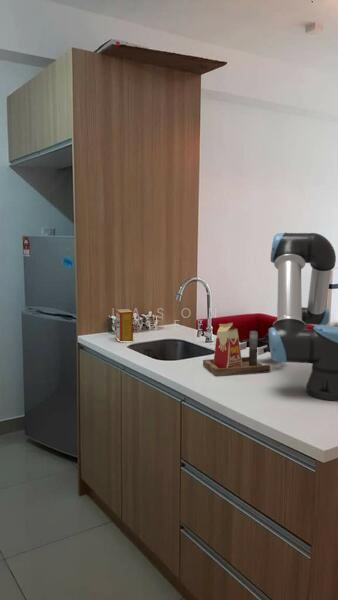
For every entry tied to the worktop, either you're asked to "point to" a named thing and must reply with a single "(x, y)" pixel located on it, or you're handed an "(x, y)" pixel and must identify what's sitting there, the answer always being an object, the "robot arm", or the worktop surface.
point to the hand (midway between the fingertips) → (247, 349)
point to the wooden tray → (247, 362)
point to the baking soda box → (124, 325)
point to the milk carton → (227, 347)
